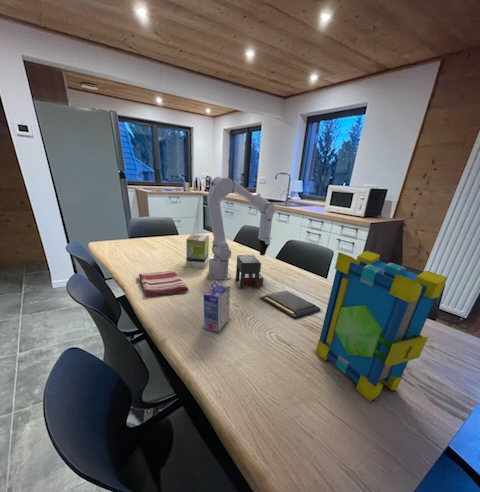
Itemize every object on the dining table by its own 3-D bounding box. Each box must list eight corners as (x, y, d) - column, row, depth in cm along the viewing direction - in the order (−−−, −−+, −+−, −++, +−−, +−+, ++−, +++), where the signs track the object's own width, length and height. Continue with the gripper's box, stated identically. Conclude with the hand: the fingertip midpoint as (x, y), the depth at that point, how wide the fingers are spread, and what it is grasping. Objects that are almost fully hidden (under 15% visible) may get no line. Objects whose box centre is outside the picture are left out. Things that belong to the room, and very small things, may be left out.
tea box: (205, 268, 138) (205, 240, 132) (185, 267, 138) (185, 239, 132) (208, 260, 152) (209, 234, 145) (191, 259, 152) (191, 233, 145)
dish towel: (146, 297, 103) (146, 291, 102) (138, 277, 121) (137, 271, 120) (188, 292, 110) (188, 286, 109) (174, 273, 129) (174, 268, 127)
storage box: (243, 286, 120) (244, 278, 119) (241, 281, 126) (241, 273, 124) (262, 286, 122) (263, 277, 120) (259, 281, 127) (260, 273, 126)
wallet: (322, 306, 102) (294, 314, 94) (321, 310, 103) (293, 319, 95) (287, 288, 117) (260, 294, 109) (286, 292, 118) (259, 298, 110)
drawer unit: (240, 288, 117) (242, 262, 112) (235, 279, 128) (237, 254, 123) (261, 288, 119) (264, 262, 114) (254, 279, 130) (257, 255, 125)
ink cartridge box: (215, 315, 94) (216, 277, 87) (229, 318, 92) (231, 280, 86) (202, 328, 85) (202, 287, 79) (218, 332, 84) (220, 290, 77)
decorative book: (366, 407, 60) (413, 284, 47) (305, 349, 78) (326, 250, 65) (408, 391, 65) (460, 278, 52) (341, 341, 84) (368, 248, 71)
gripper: (277, 231, 124) (274, 259, 130) (268, 225, 136) (265, 251, 142) (263, 230, 122) (260, 259, 128) (255, 225, 135) (253, 251, 141)
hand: (262, 255), depth 135 cm, fingers closed
